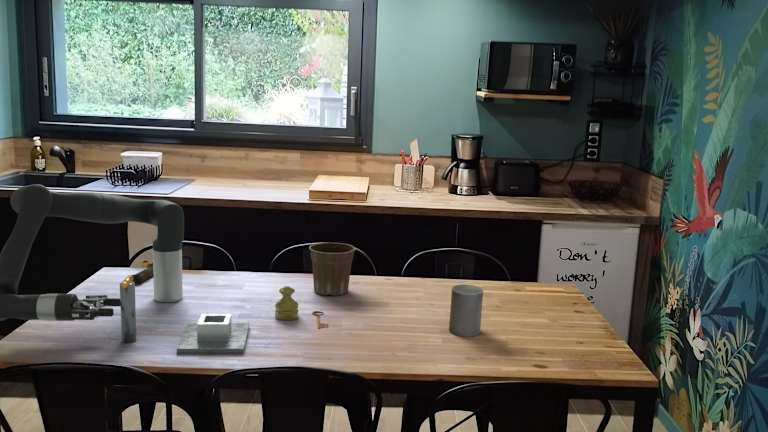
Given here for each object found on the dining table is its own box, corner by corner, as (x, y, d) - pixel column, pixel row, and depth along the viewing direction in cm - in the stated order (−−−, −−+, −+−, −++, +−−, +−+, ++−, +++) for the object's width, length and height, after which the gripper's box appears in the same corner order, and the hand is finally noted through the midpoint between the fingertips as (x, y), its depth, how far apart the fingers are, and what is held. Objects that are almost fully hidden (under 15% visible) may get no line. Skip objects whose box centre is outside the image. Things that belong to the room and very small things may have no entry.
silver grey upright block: (125, 334, 213) (123, 274, 209) (139, 334, 213) (137, 274, 209) (118, 346, 204) (115, 283, 200) (132, 346, 204) (130, 283, 201)
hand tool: (140, 285, 259) (140, 273, 258) (130, 284, 260) (130, 271, 259) (167, 272, 278) (167, 260, 277) (158, 270, 278) (158, 259, 277)
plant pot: (328, 281, 272) (329, 239, 268) (363, 290, 262) (364, 247, 259) (299, 291, 259) (299, 247, 255) (334, 301, 249) (335, 255, 246)
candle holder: (188, 328, 220) (188, 307, 219) (249, 327, 222) (249, 307, 220) (176, 353, 200) (176, 331, 199) (243, 353, 202) (243, 331, 201)
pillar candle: (443, 327, 228) (446, 281, 225) (470, 324, 232) (473, 279, 229) (458, 339, 220) (461, 291, 216) (486, 335, 223) (489, 288, 220)
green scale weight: (288, 311, 238) (289, 282, 236) (303, 317, 233) (303, 287, 231) (270, 316, 233) (270, 286, 231) (284, 322, 228) (284, 291, 225)
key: (331, 330, 224) (329, 314, 239) (331, 328, 224) (329, 311, 238) (312, 329, 223) (311, 312, 238) (312, 326, 223) (312, 309, 238)
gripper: (47, 302, 197) (110, 302, 199) (65, 286, 211) (123, 286, 212) (49, 328, 198) (111, 328, 200) (66, 311, 212) (124, 311, 214)
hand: (117, 307), depth 206 cm, fingers open, 8 cm apart
